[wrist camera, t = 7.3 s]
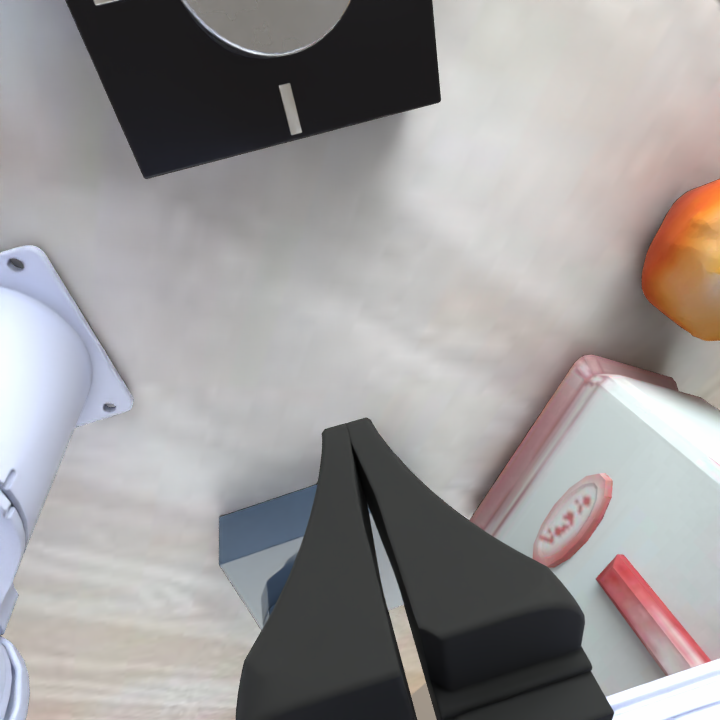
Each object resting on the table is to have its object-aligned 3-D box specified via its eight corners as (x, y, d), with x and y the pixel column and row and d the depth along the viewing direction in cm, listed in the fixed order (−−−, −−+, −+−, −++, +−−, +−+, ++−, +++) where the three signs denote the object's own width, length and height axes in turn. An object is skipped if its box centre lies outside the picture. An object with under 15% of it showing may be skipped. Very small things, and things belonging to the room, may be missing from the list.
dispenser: (274, 610, 33) (281, 688, 29) (218, 516, 27) (218, 597, 23) (420, 558, 34) (447, 625, 30) (398, 456, 28) (428, 522, 24)
